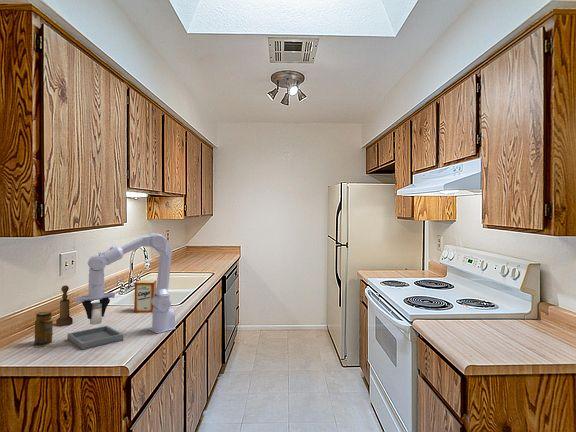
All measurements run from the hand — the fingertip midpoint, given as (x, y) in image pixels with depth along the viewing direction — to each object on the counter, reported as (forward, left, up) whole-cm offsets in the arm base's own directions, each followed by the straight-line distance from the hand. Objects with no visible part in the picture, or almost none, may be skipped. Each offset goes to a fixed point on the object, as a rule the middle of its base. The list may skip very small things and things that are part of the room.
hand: (95, 317), depth 158 cm
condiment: (+16, -10, -10) cm, 21 cm away
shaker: (0, 0, -2) cm, 2 cm away
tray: (0, 0, -9) cm, 9 cm away
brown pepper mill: (+2, -31, -10) cm, 33 cm away
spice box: (-36, -28, -10) cm, 47 cm away
